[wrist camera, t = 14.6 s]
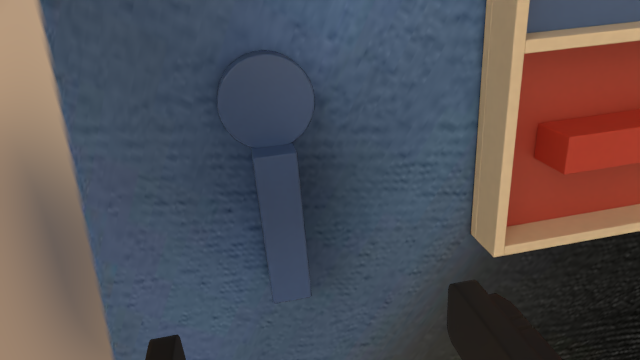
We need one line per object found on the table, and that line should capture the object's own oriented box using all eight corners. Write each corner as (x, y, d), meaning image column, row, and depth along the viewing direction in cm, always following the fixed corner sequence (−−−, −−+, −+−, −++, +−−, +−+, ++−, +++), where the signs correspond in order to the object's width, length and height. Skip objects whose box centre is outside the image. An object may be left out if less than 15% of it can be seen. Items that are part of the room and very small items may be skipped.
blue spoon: (325, 266, 26) (334, 293, 24) (247, 280, 25) (249, 309, 23) (306, 45, 21) (316, 52, 19) (209, 55, 20) (207, 64, 18)
